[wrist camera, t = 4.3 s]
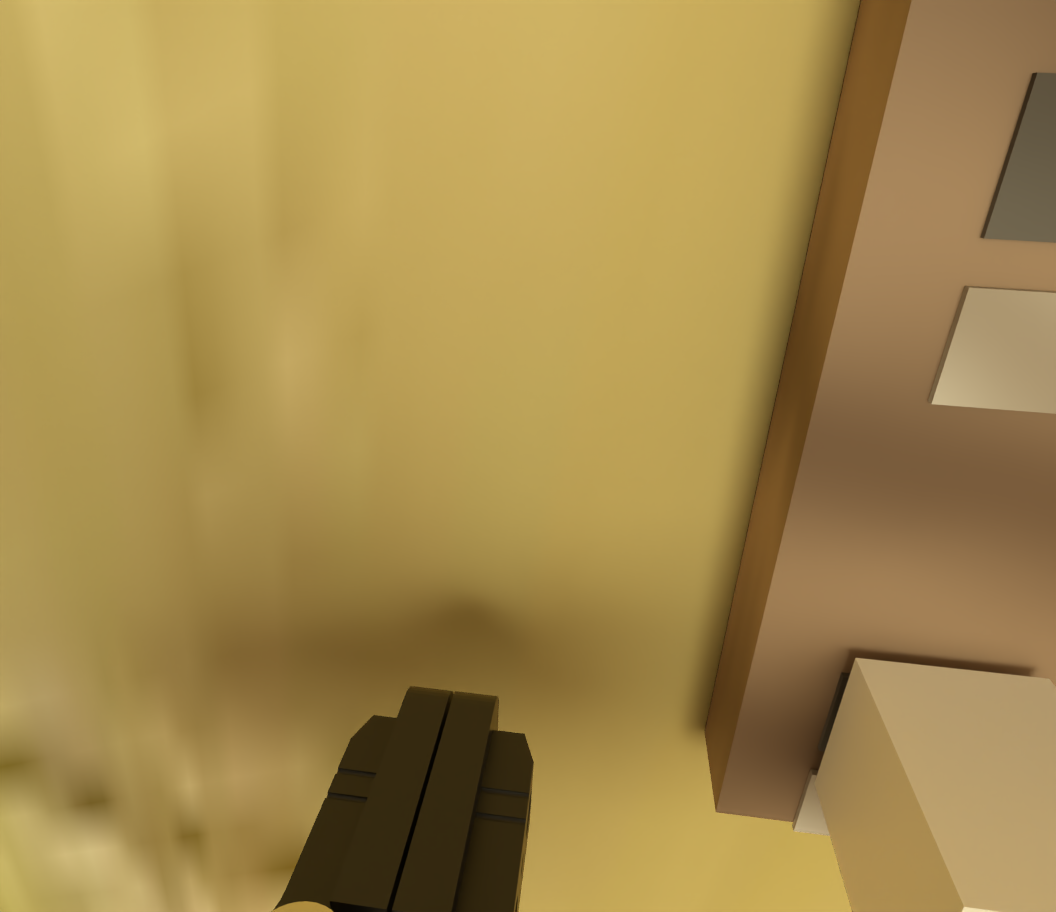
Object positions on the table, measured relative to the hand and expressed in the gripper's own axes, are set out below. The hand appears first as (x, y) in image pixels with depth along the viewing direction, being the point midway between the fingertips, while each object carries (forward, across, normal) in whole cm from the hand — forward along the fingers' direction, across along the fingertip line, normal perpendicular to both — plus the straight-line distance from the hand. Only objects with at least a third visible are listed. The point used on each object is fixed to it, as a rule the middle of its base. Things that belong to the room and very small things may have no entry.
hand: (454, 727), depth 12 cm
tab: (+1, -8, 0) cm, 8 cm away
